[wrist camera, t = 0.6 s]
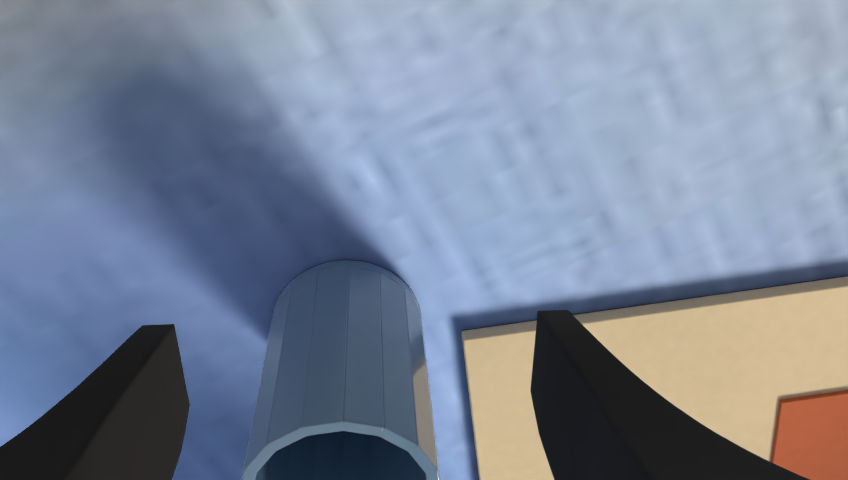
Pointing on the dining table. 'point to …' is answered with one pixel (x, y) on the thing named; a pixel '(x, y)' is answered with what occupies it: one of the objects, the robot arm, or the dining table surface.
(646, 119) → the dining table surface
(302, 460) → the tumbler
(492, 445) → the cutting board
